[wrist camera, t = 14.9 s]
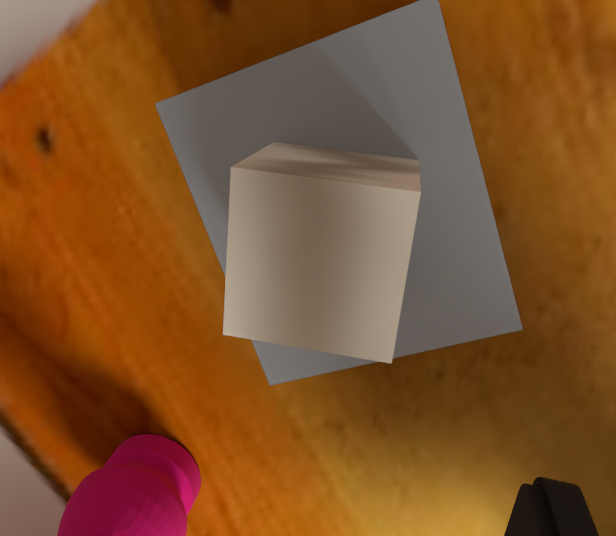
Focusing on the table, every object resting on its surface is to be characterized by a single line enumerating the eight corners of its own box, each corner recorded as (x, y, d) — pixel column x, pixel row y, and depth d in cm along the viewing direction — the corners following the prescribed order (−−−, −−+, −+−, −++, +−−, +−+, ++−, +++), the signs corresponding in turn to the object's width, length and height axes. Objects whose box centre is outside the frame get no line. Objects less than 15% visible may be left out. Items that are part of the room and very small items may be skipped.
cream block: (419, 160, 23) (421, 191, 17) (396, 296, 25) (391, 363, 19) (274, 141, 24) (230, 166, 18) (264, 275, 26) (222, 334, 20)
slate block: (431, 7, 26) (436, -7, 21) (502, 279, 30) (523, 329, 24) (203, 95, 29) (154, 103, 24) (293, 331, 33) (269, 385, 28)
